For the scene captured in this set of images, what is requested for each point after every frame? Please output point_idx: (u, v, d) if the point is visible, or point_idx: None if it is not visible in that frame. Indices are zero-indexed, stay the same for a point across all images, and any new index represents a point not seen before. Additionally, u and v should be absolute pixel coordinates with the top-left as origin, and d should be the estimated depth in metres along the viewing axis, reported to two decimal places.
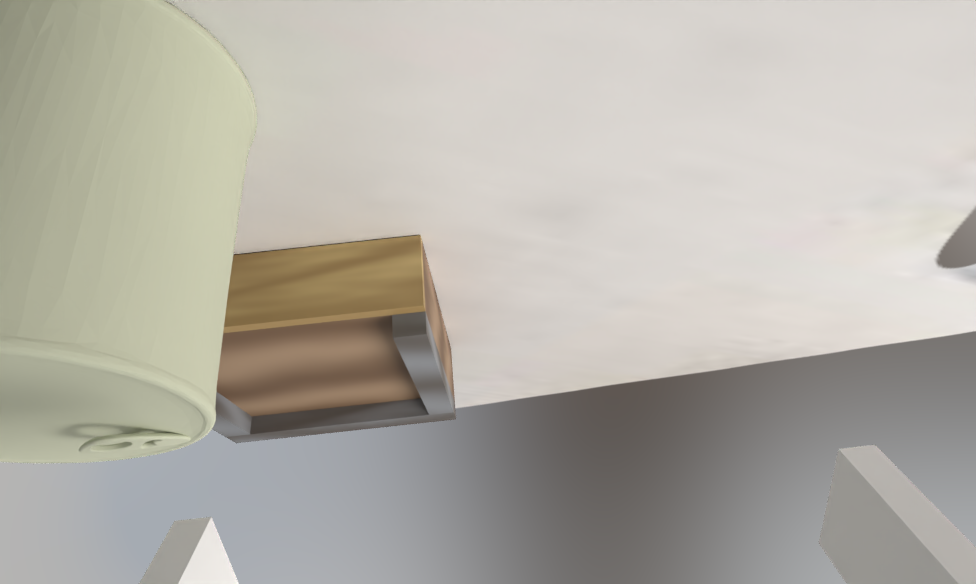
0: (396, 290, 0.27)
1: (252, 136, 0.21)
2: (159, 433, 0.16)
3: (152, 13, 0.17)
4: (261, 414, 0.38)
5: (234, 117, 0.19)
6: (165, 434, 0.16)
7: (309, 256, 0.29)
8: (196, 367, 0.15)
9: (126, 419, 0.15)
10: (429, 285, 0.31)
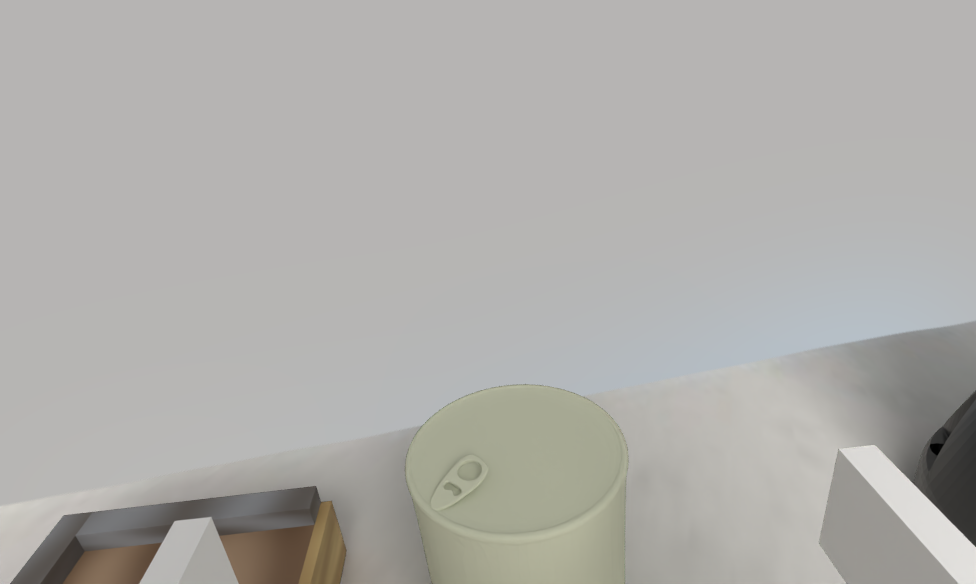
0: None
1: None
2: (463, 498, 0.22)
3: None
4: (79, 562, 0.30)
5: None
6: (459, 500, 0.21)
7: None
8: (530, 553, 0.20)
9: (490, 491, 0.22)
10: None
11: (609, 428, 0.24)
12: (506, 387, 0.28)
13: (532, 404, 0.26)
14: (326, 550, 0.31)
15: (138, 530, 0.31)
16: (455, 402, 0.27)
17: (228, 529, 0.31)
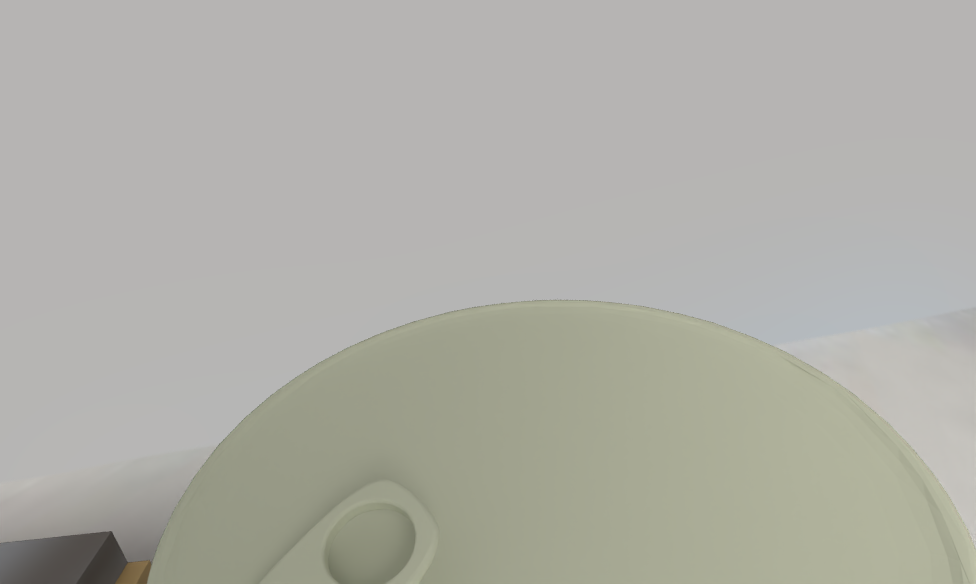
0: None
1: None
2: None
3: None
4: None
5: None
6: None
7: None
8: None
9: None
10: None
11: (827, 399, 0.08)
12: (508, 306, 0.11)
13: (577, 341, 0.10)
14: None
15: None
16: (377, 338, 0.11)
17: None
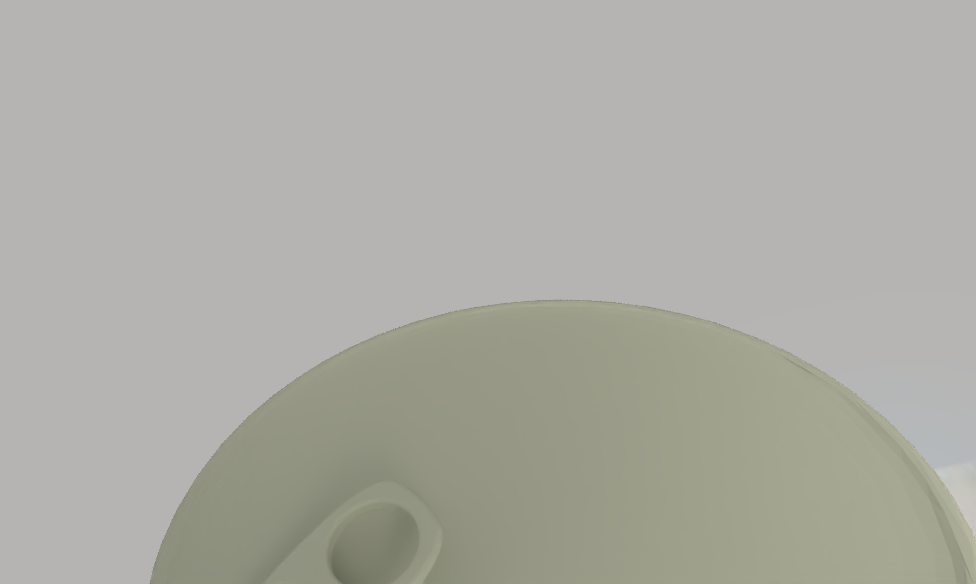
0: None
1: None
2: None
3: None
4: None
5: None
6: None
7: None
8: None
9: None
10: None
11: (829, 399, 0.08)
12: (510, 306, 0.11)
13: (579, 341, 0.10)
14: None
15: None
16: (379, 338, 0.11)
17: None
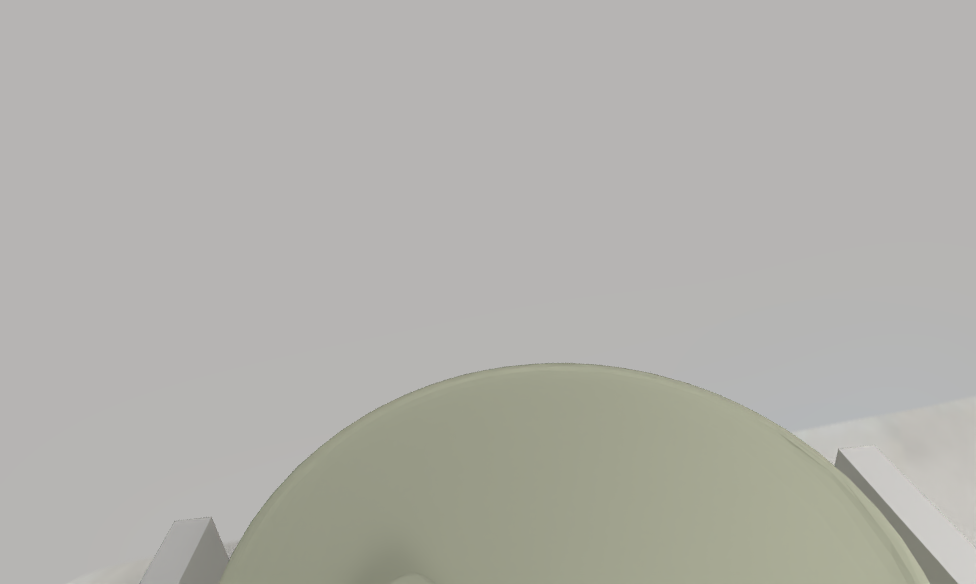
0: None
1: None
2: None
3: None
4: None
5: None
6: None
7: None
8: None
9: None
10: None
11: (824, 485, 0.08)
12: (520, 369, 0.12)
13: (588, 411, 0.10)
14: None
15: None
16: (396, 403, 0.11)
17: None
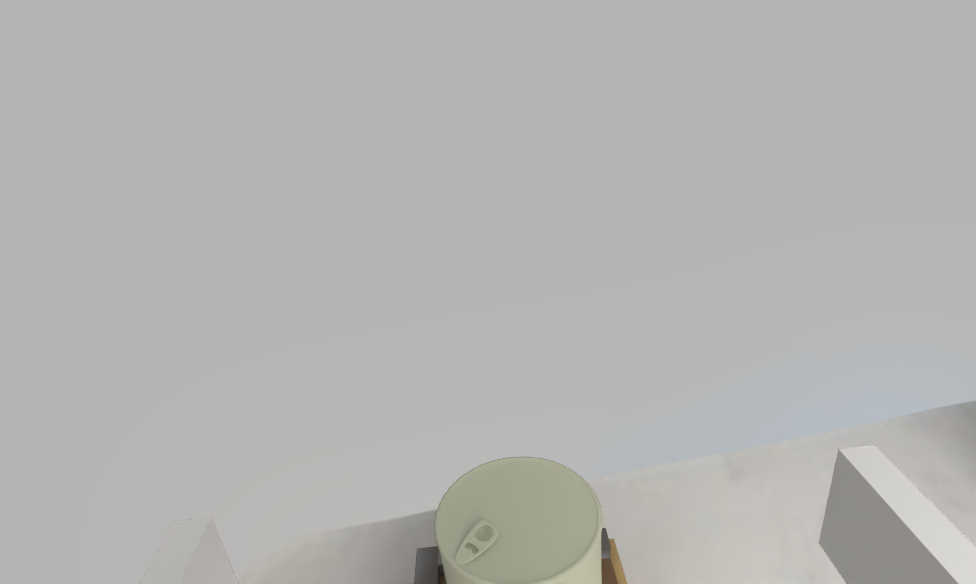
0: None
1: None
2: (479, 555, 0.29)
3: None
4: None
5: None
6: (477, 556, 0.29)
7: None
8: None
9: (499, 549, 0.29)
10: None
11: (589, 497, 0.32)
12: (510, 459, 0.35)
13: (530, 474, 0.34)
14: None
15: None
16: (470, 472, 0.35)
17: None
